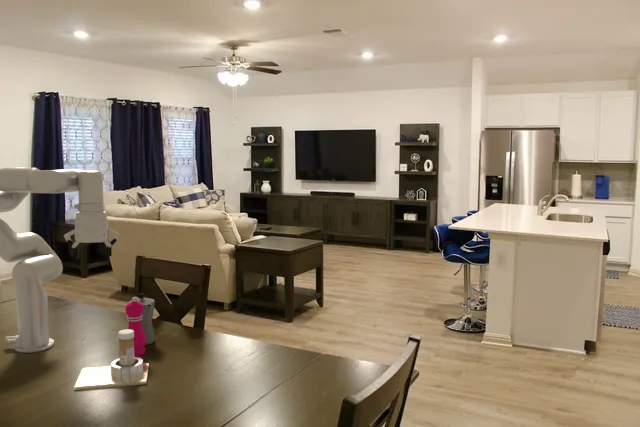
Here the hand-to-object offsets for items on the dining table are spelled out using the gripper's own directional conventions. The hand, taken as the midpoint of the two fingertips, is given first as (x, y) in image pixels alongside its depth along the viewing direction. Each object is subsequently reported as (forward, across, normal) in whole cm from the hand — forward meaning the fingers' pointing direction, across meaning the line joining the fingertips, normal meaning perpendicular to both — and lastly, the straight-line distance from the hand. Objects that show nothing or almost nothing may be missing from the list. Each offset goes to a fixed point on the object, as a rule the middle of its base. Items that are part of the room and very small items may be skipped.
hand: (92, 258), depth 182 cm
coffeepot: (+34, +14, +11) cm, 38 cm away
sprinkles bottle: (+32, +12, -21) cm, 40 cm away
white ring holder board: (+33, +8, -21) cm, 40 cm away
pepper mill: (+34, +13, -2) cm, 36 cm away
